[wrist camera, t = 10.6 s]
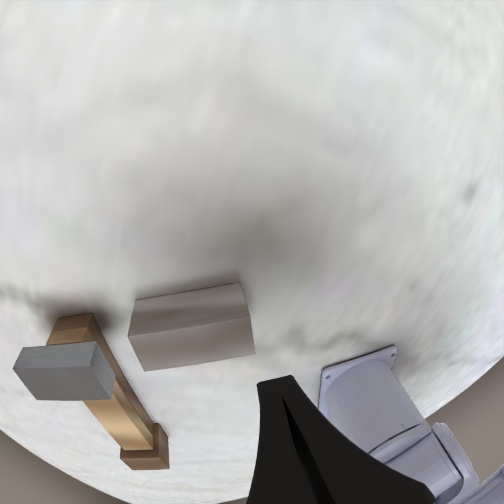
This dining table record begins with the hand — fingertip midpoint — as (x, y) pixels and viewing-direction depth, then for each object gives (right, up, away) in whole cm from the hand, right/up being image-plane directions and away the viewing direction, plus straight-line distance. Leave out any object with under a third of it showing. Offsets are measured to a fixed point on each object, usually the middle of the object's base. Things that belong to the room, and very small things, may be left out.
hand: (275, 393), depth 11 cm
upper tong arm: (-12, -6, +9) cm, 16 cm away
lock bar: (-13, -1, +4) cm, 13 cm away
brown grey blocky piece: (-8, -6, +12) cm, 15 cm away
